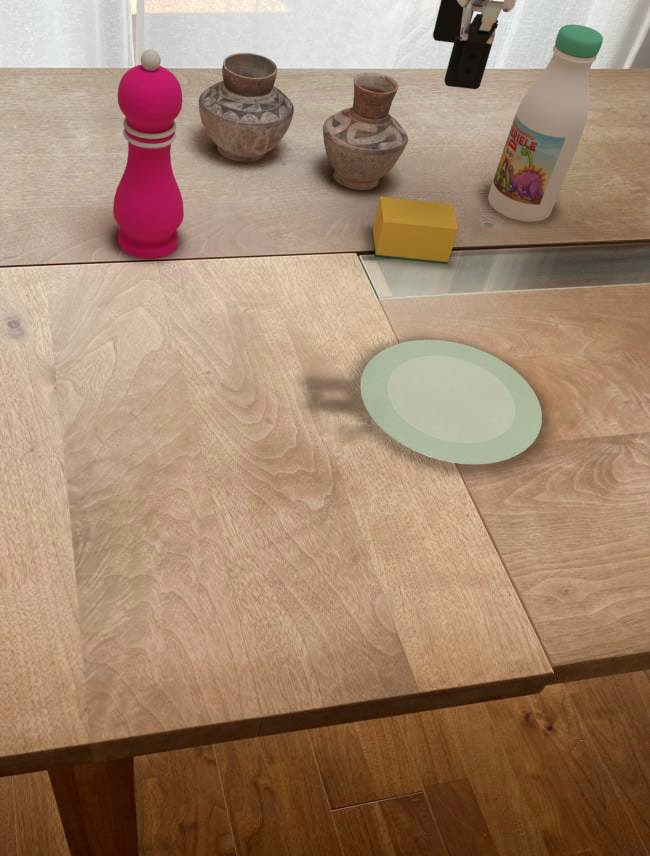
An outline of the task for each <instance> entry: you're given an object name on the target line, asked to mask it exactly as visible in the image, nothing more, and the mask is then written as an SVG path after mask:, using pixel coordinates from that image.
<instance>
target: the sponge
mask: <svg viewBox="0 0 650 856" xmlns="http://www.w3.org/2000/svg"><path fill="white" fill-rule="evenodd" d="M455 213H456V212H455V210H454V206H453V203H446V202H437V201H427V200H417V199H408V198H398V197H390V196H380V197H379V200H378V205H377V208H376V214H375V217H374V223H373V227H372V231H371V233H372V241H373V242H372V244H373V251H374V257H375V258H382V259H391V260H392V259H393V260H402V261H412V262H421V263H422V262H423V263H430V264H431V263H432V264H441V265H448V263H449V260H450V257H451V253H452V252H453V251H452V250H453V248H454V244H455V242H456V238H457V235H458V232H459V226H458V222H457V217H456V214H455Z"/></svg>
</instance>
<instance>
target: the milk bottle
mask: <svg viewBox="0 0 650 856" xmlns="http://www.w3.org/2000/svg"><path fill="white" fill-rule="evenodd" d="M603 42H604V37H603V35H602V34H601V33H600V32H599V31H598V30H596V29H593V28H592V27H589V26H586V25H581V24H565V25H563V26H561V27H560V29H559V30H558V33H557V36H556V38H555V42H554V46H553V47H552V52H553V54H552V57H551V58H550V60H549V62H548V63H547V65H546V67H545V69H544V70H543V71H542V73H540V75H539V76H538V77H537V78H536V79H535V80H534V81H533V83H532V84H531V85H530V86H529V87H528V89H527V91H526V92H525V94H524V95H523V97H522V99H521V101H520V103H519V106H518V107H517V110H516V113H515V116H514V117H513V122H512V123H511V127H510V128H509V132H508V135H507V139H506V141H505V144H504V147H503V150H502V153H501V155H500V159H499V162H498V165H497V168H496V171H495V174H494V176H493V181H492V183H491V186H490V189H489V192H488V196H487V201H488V203H489V205H490V206H491V207H492V208H493V209H494V210H495V212H498V213H499V214H501V215H503V216H505V217H507V218H510V219H513V220H517V221H521V222H540V221H543V220H545V219H548V217H550V215H551V214H552V212H553V209H554V207H555V205H556V201H557V199H558V198H559V195H560V192H561V189H562V187H563V184H564V182H565V179H566V177H567V174H568V172H569V169H570V167H571V164H572V161H573V159H574V157H575V154H576V151H577V149H578V146H579V143H580V140H581V138H582V135H583V133H584V130H585V126H586V124H587V119H588V115H589V110H590V89H589V87H590V86H589V84H590V82H589V81H590V73H591V67H592V64H593V63H594V62H595V61H596V60H597V56H598V54H599V52H600V51H601V48H602V45H603Z"/></svg>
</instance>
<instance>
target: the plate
mask: <svg viewBox="0 0 650 856" xmlns="http://www.w3.org/2000/svg"><path fill="white" fill-rule="evenodd" d="M360 394H361V399H362V402H363V405H364V407H365V409H366V411H367V412H368V415H369V416H370V417H371V419H372V420H373V421H374V423H375V424H377V426H378V427H379V428H380V429H381V430H382V431H383V432H384V433H386V434H387V435H388V436H390V437H391V438H392V439H394V441H396V442H398V443H400V445H402V446H404V447H405V448H408V449H409V450H412V451H414V452H416V453H419V454H421V455H423V456H426V457H429V458H431V459H435V460H438V461H443V462H447V463H452V464H461V465H489V464H494V463H500V462H503V461H506V460H509V459H513V458H514V457H516V456H518V455H520V454H521V453H523V452H524V451H526V450H527V449H528V448H529V447H531V446H532V444H533V443H534V442H535V440H537V438H538V436H539V434H540V431H541V428H542V424H543V412H542V407H541V403H540V401H539V399H538V397H537V394H536V392H535V391H534V389H533V387H531V385H530V384H529V382H528V381H527V380H526V379H525V378H524V377H523V376H522V374H520V373H519V372H518V371H517V370H515V369H514V368H513V367H512V366H510V365H509V364H508V363H506V362H504V361H503V360H501V359H500V358H497V357H496V356H495V355H492V354H491V353H489V352H486V351H484V350H481V349H479V348H476V347H474V346H470V345H467V344H464V343H460V342H454V341H448V340H441V339H417V340H408V341H404V342H399V343H397V344H393V345H391V346H389V347H386V348H385V349H383V350H381V351H380V352H378V353H377V354H375V355H374V356H373V357H372V358H371V359H370V360H369V362H368V363H367V364H366V366H365V367H364V370H363V372H362V374H361V378H360Z"/></svg>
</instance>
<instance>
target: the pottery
mask: <svg viewBox="0 0 650 856" xmlns="http://www.w3.org/2000/svg"><path fill="white" fill-rule="evenodd" d="M221 69H222V71H221V73H222V74H221V75H222V80H221V81H218V82H216V83H214V84H213V85H210V86H209V87H207V88H206V89H205V90H204V91H202V92H201V93H200V95H199V97H198V112H199V116H200V120H201V124H202V126H203V128H204V130H205V132H206V134H207V135H208V136H209V138H210V139H211V140H212V142H213V143H214V144H215V145H216V146H217V151H218V153H219V155H221V156H222V157H224V158H226V159H229V160H231V161H233V162H240V163H250V162H257V161H259V160H261V159H263V158H264V157H265V156H266V154H267V153H268V152H270V151H271V150H272V149H274V148H275V147H276V145H278V143H280V142H281V140H282V139H283V138H284V136H285V135H286V134H287V132H288V130H289V128H290V126H291V123H292V121H293V117H294V113H295V106H294V104H293V102H292V101H291V100H290V98H289V97H288V96H287V95H286V93H284V92H283V91H281V89H280V88H278V87H276V86H275V82H276V79H277V74H278V66H277V64H276V63H275V62H274V60H271V59H270V58H268V57H267V56H264V55H260V54H257V53H252V52H237V53H233V54H229V55H227V56H226V57H225V58H224V59H223V62H222V68H221ZM398 90H399V83H398V81H396V80H395V79H394V78H392V77H391V76H389V75H387V74H383V73H377V72H362V73H359V74H356V75H355V76H354V78H353V98H352V99H353V101H352V106H351V107H348V108H345V109H342V110H340V111H338V112H336V113H334V114H332V115H331V116H329V117H328V118H327V119H325V121H324V123H323V125H322V136H323V137H322V138H323V145H324V150H325V154H326V157H327V160H328V162H329V164H330V166H331V167H332V168H333V170H334V171H333V179H334V180H335V181H336V182H337V183H338V184H339V185H341V186H342V187H343V186H344V187H345V188H348V189H351V190H357V191H367V190H372V189H375V187H377V186H378V185H379V183H380V182H379V181H380V179H381V178H383V177H384V176H385V175H387V174H388V173H389V172H390V171H391V170H392V169H393V168H394V167H395V165H396V164H397V162H398V161H399V159H400V158H401V156H402V154H403V152H404V151H405V149H406V147H407V145H408V142H409V137H408V134H407V132H406V130H405V129H404V127H403V126H402V125H401V124H400V122H399V121H397V120H396V118H394V117H393V116H392V115H391V114H390V110H391V107H392V104H393V102H394V99H395V96H396V94H397V92H398Z"/></svg>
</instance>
